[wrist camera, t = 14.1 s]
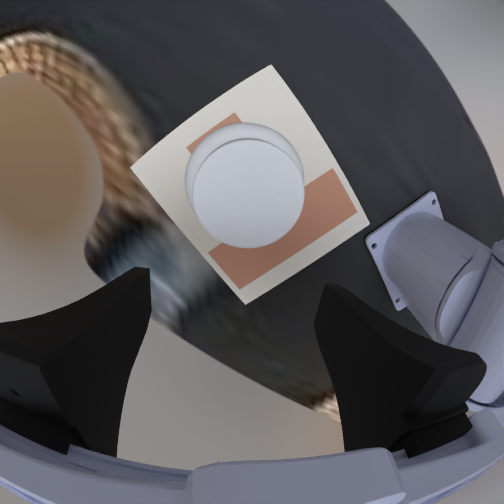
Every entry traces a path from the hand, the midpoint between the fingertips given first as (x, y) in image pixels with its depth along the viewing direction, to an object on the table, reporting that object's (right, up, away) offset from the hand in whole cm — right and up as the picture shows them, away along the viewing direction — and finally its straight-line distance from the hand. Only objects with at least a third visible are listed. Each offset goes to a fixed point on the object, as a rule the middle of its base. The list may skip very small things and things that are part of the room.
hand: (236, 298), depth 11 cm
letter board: (+1, +6, +9) cm, 11 cm away
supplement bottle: (0, +8, +7) cm, 11 cm away
